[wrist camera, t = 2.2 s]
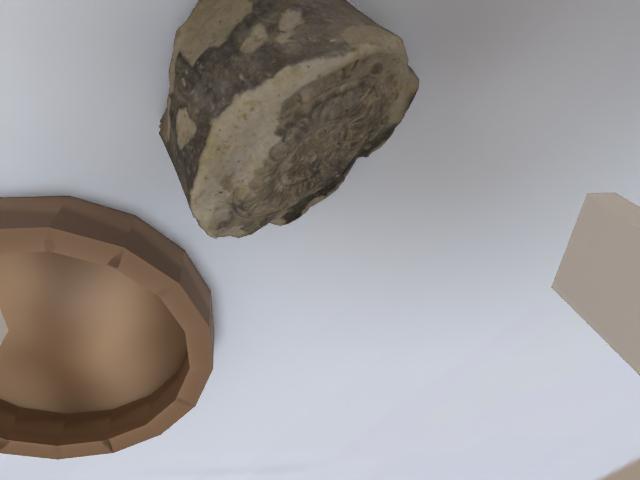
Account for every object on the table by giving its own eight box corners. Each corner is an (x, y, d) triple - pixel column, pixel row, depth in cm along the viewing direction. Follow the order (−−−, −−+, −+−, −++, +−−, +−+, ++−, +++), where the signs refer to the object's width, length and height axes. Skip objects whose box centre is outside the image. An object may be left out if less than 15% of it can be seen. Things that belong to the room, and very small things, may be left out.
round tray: (202, 192, 23) (199, 221, 21) (220, 401, 31) (219, 440, 29) (-156, 202, 21) (-210, 236, 18) (-37, 427, 29) (-62, 473, 26)
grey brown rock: (333, 238, 25) (263, 332, 16) (194, 152, 26) (52, 198, 17) (446, 46, 21) (433, 31, 12) (272, -53, 21) (134, -139, 12)
